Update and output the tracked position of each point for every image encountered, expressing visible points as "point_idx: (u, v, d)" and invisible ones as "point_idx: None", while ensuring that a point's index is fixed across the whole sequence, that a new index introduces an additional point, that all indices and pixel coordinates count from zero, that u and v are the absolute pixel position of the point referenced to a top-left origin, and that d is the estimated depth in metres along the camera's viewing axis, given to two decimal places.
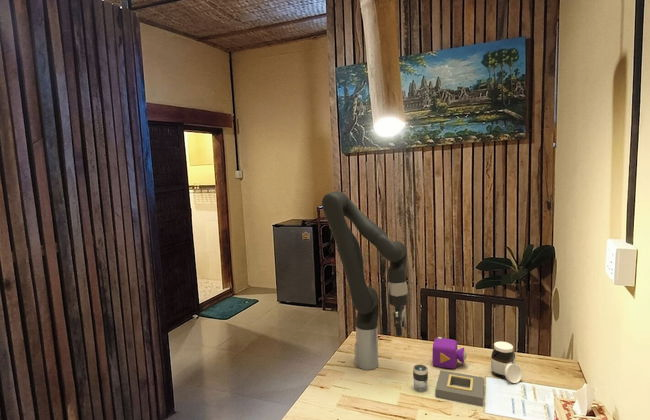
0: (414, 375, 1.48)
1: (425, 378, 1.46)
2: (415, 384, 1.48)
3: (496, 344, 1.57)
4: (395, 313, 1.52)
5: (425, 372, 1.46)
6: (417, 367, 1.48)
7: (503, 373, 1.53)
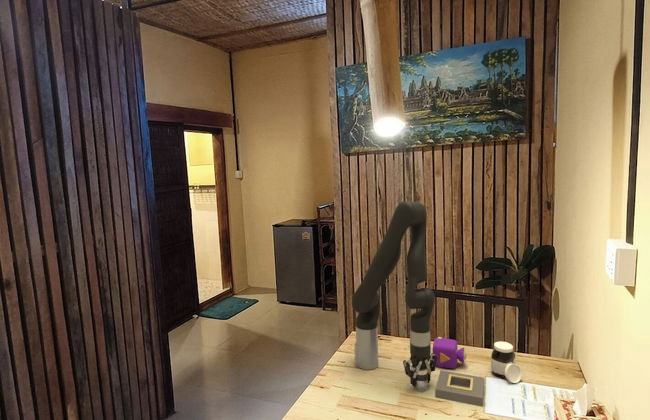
0: None
1: (425, 378, 1.46)
2: None
3: (496, 344, 1.57)
4: None
5: (425, 372, 1.46)
6: None
7: (503, 373, 1.53)
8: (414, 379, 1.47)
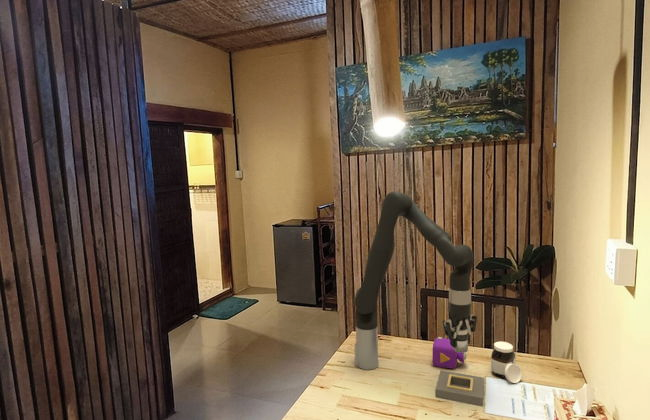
0: None
1: (466, 338, 1.42)
2: None
3: (496, 344, 1.57)
4: None
5: (466, 332, 1.42)
6: None
7: (503, 373, 1.53)
8: (454, 339, 1.42)
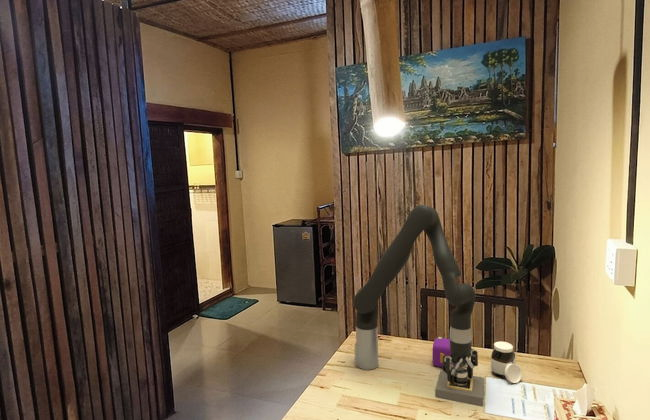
0: (454, 378, 1.45)
1: (465, 381, 1.44)
2: None
3: (496, 344, 1.57)
4: None
5: (465, 375, 1.43)
6: (457, 370, 1.46)
7: (503, 373, 1.53)
8: (451, 376, 1.43)
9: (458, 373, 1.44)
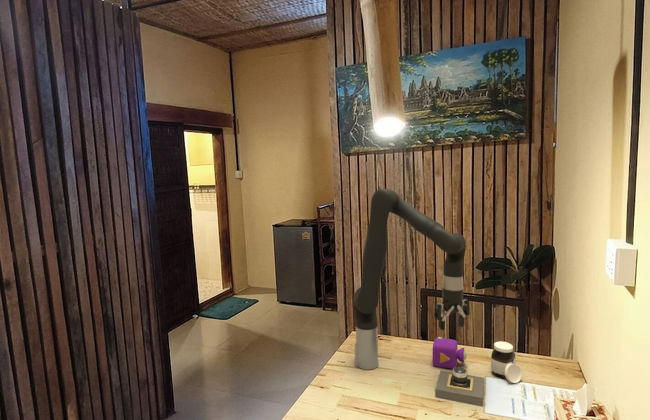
0: (454, 378, 1.45)
1: (465, 381, 1.44)
2: None
3: (496, 344, 1.57)
4: None
5: (465, 375, 1.43)
6: (456, 370, 1.46)
7: (503, 373, 1.53)
8: (443, 322, 1.48)
9: (458, 373, 1.44)
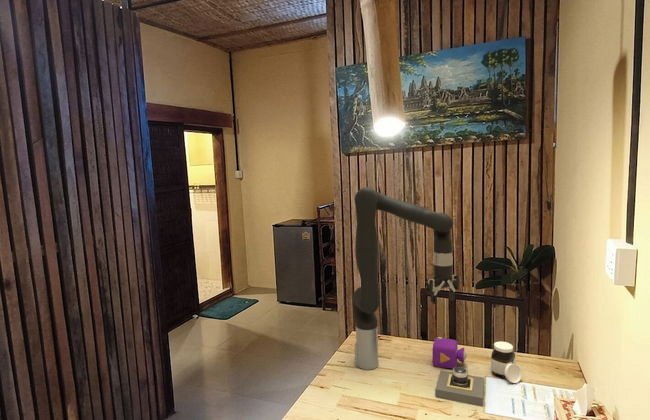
0: (454, 378, 1.45)
1: (465, 381, 1.44)
2: None
3: (496, 344, 1.57)
4: None
5: (465, 375, 1.43)
6: (457, 369, 1.46)
7: (503, 373, 1.53)
8: (434, 297, 1.57)
9: (458, 373, 1.44)
